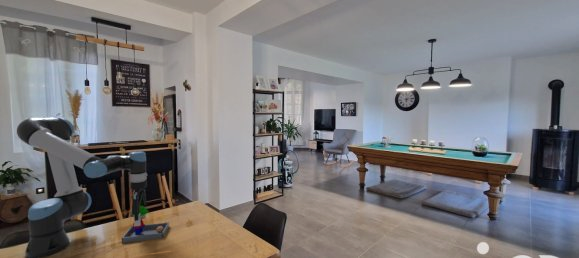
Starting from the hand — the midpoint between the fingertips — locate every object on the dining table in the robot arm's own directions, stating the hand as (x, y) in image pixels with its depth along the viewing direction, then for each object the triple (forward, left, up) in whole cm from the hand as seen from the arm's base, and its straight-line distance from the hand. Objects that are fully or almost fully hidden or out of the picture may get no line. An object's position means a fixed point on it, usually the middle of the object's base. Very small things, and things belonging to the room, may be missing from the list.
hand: (140, 222), depth 130 cm
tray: (+3, 0, -8) cm, 8 cm away
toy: (0, 0, -6) cm, 6 cm away
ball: (+10, 0, -7) cm, 12 cm away
